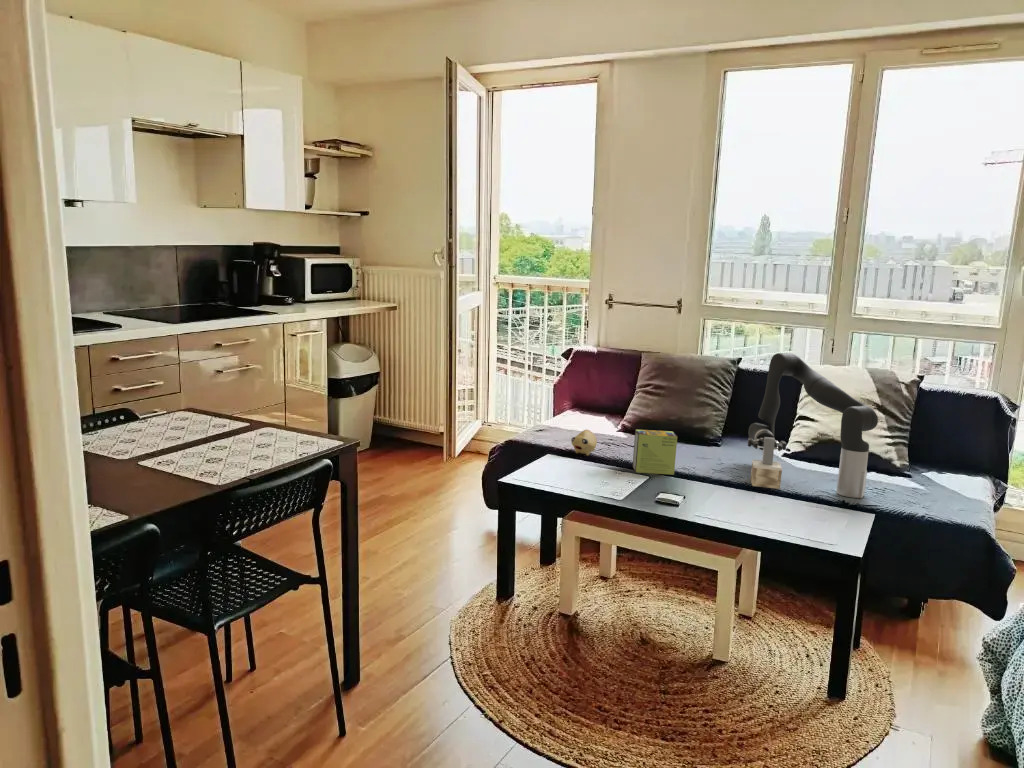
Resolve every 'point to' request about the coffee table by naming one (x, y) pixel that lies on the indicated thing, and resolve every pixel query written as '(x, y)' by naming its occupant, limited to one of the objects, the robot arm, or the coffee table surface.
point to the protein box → (654, 452)
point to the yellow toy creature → (584, 442)
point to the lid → (767, 456)
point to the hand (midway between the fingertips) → (768, 447)
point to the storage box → (765, 477)
